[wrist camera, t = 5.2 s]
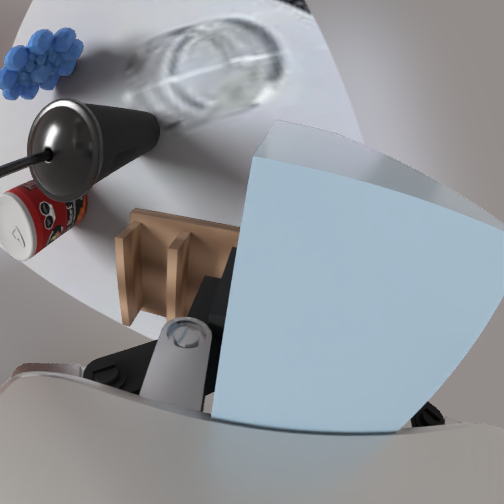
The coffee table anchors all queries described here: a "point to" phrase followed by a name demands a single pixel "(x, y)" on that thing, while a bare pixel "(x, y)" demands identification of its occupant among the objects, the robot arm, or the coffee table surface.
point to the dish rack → (168, 261)
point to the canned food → (35, 219)
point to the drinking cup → (82, 146)
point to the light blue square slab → (349, 288)
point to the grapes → (39, 63)
